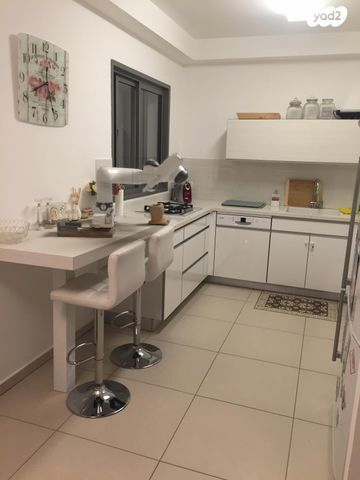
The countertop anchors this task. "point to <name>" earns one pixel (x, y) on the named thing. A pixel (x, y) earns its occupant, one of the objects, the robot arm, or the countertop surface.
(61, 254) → the countertop surface
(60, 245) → the countertop surface
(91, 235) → the loading dock
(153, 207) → the stone cup
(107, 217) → the food container
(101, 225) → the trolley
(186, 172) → the robot arm
